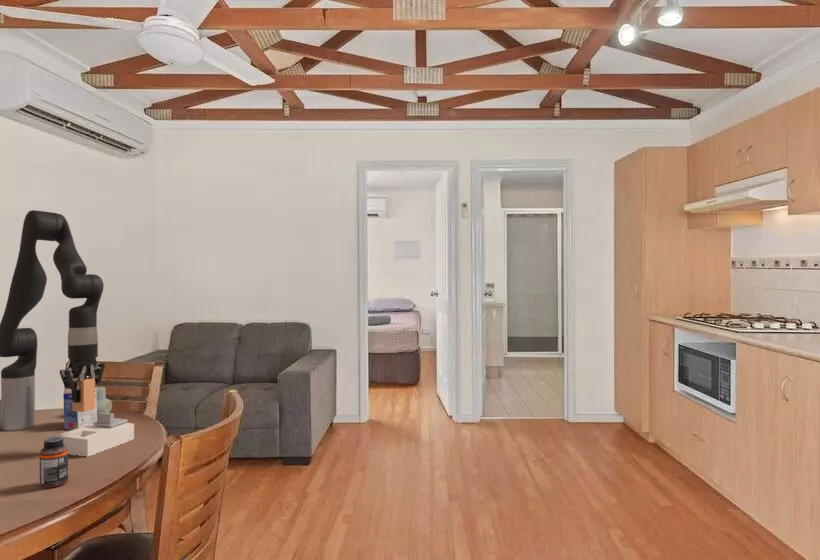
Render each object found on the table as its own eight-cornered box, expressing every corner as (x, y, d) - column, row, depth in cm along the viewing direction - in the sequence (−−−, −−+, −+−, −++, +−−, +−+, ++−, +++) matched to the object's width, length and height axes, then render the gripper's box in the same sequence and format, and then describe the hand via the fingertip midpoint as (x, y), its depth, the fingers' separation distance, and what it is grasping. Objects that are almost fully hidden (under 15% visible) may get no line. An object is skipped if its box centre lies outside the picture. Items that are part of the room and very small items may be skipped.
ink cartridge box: (83, 421, 191) (83, 380, 191) (98, 421, 190) (98, 380, 190) (62, 429, 181) (62, 386, 181) (78, 430, 180) (78, 386, 180)
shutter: (93, 425, 167) (93, 413, 167) (110, 419, 173) (110, 408, 173) (111, 426, 165) (111, 415, 165) (127, 421, 171) (127, 410, 171)
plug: (72, 410, 158) (72, 371, 158) (83, 407, 162) (83, 369, 162) (83, 412, 157) (83, 372, 157) (94, 408, 161) (94, 370, 161)
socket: (55, 452, 158) (55, 435, 158) (103, 435, 174) (103, 420, 174) (87, 457, 154) (87, 439, 154) (133, 439, 171) (133, 423, 171)
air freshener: (102, 419, 194) (102, 391, 194) (77, 419, 193) (77, 391, 193) (114, 411, 205) (114, 384, 205) (90, 412, 204) (90, 385, 203)
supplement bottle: (48, 480, 137) (48, 435, 137) (73, 479, 138) (73, 435, 138) (34, 489, 131) (34, 442, 131) (60, 488, 132) (60, 442, 132)
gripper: (93, 339, 167) (93, 394, 168) (50, 344, 154) (51, 405, 154) (112, 340, 165) (113, 396, 165) (71, 345, 152) (71, 407, 152)
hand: (83, 400), depth 160 cm, fingers closed on plug, 3 cm apart
